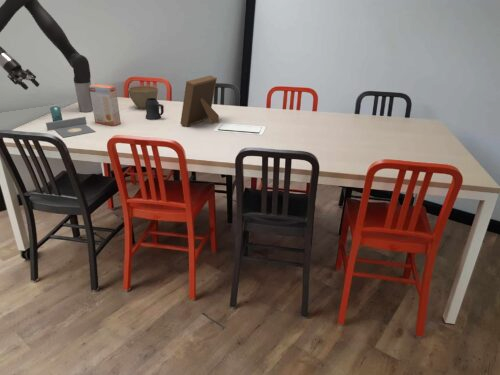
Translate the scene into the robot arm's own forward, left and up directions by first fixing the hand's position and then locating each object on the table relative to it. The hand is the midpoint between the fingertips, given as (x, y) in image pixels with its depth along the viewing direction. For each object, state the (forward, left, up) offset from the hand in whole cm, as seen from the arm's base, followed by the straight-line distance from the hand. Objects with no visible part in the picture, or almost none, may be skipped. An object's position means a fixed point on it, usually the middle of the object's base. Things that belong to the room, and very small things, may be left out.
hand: (32, 87), depth 202 cm
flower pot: (-61, +4, -20) cm, 64 cm away
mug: (-55, +30, -20) cm, 66 cm away
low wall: (-9, +18, -19) cm, 28 cm away
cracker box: (-29, +24, -20) cm, 42 cm away
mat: (-10, +27, -19) cm, 35 cm away
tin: (-7, +8, -19) cm, 22 cm away
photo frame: (-72, +55, -20) cm, 93 cm away
